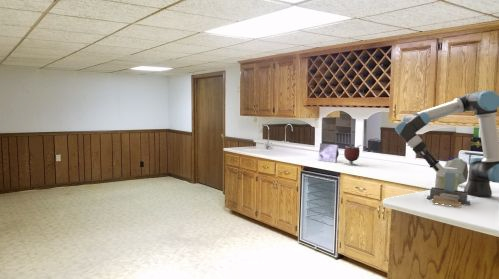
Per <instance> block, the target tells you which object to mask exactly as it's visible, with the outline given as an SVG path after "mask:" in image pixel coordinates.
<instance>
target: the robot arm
mask: <svg viewBox="0 0 499 279" xmlns="http://www.w3.org/2000/svg"><path fill="white" fill-rule="evenodd" d="M498 109H499V94H498V93H497V92H495V91H493V90H487V89H485V90H484V89H483V90H478V91H472V92H468V93H466V94H464V95H461V96H458V97H455V98H454V99H453V100H452V101H447V102H446V103H441V104H440V105H437V106H433V107H431V108H428V109H424V110H421V111H418V112H415V113H412V114H407V115H404V116H402V118H401V122H400V123H399V124H397V125H396V126H395V127H394V130H395V132H396V133H397V134H398V135H399V137H400V138H402V140H403V141H404V142H405V143H406V144H407V146H408V147H410V148H411V149H412V151H413V152H414V153H415V154H420V156H421V157H423V159H424V160H425V161H426V163H427V164H428V165H429V168H430V169H431V168H432V169H433V171H434V172H436V173H438V174H439V176H440V177H441V176H442V175H444V174H445V172H447V171H446V170H445V169H444V168H443V167H444V166H442V164H441V163H440V161H439V160H438V159H436V158H435V157H434V155H432V154H431V153H430V151H429V150H428V149H425V148H427V147H428V145H427V143H426V142H424V141H423V139H422V138H421V137H420V136H419V135H418V133H417V132H419V131H420V130H422V129H423V128H424V127H426V126H427V125H429V123H430V122H432V121H434V120H439V119H442V118H444V117H448V116H450V115H451V116H452V115H454V114H457V113H459V114H462V113H466V112H473V114H474V116H475V117H476V118H477V120H478V127H479V133H480V140H481V141H480V142H481V147H482V148H481V149H482V155H483V157H471V158H470V159H469V163H468V164H469V168H468V178H467V181H466V185H465V186H464V189H463V191H465V192H468V194H467V196H468V195H469V196H473V197H475V196H476V197H481V198H483V197H484V198H492V197H493V191H492V188H491V185H490V184H491V183H490V182H492V183H497V184H499V134H498V133H499V132H498V127H497V122H496V115H497V113H498Z"/></svg>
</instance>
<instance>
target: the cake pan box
mask: <svg viewBox="0 0 499 279" xmlns="http://www.w3.org/2000/svg"><path fill="white" fill-rule="evenodd" d="M318 151H319V152H318V161H319V162H326V163H334V164H337V162H338V157H339V154H340V153H339V144H332V143H331V144H330V143H319V149H318Z"/></svg>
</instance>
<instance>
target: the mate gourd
mask: <svg viewBox="0 0 499 279" xmlns="http://www.w3.org/2000/svg"><path fill="white" fill-rule="evenodd" d="M360 147H362V144H360V145H357V146H345V147H344V153H343V154H344V158H345V160H347V161H349V162H348V163H344V164H343V165H345V166H348V167H358V164H355V163H354V162H355V161H357V160H358V159H359V157H360Z"/></svg>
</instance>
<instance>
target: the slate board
mask: <svg viewBox="0 0 499 279" xmlns="http://www.w3.org/2000/svg"><path fill="white" fill-rule="evenodd" d="M455 177H456V173H452V172H445V183H444V190H446V191H453V192H454V188H455Z"/></svg>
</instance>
